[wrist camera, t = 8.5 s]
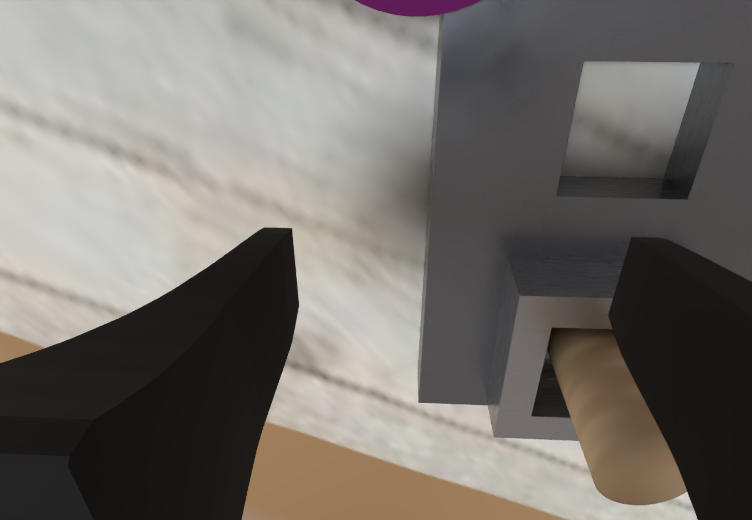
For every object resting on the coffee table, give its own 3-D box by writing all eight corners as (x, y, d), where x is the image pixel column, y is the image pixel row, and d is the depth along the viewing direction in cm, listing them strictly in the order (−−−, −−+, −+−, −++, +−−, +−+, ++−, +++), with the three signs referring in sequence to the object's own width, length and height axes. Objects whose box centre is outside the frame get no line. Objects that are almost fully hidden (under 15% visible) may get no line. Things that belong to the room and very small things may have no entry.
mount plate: (869, -15, 17) (1005, -3, 13) (691, 383, 26) (740, 458, 22) (442, -18, 17) (452, -8, 14) (417, 373, 27) (419, 444, 23)
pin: (606, 268, 23) (707, 429, 15) (610, 326, 25) (703, 497, 17) (529, 284, 24) (589, 446, 16) (538, 339, 25) (597, 510, 18)
